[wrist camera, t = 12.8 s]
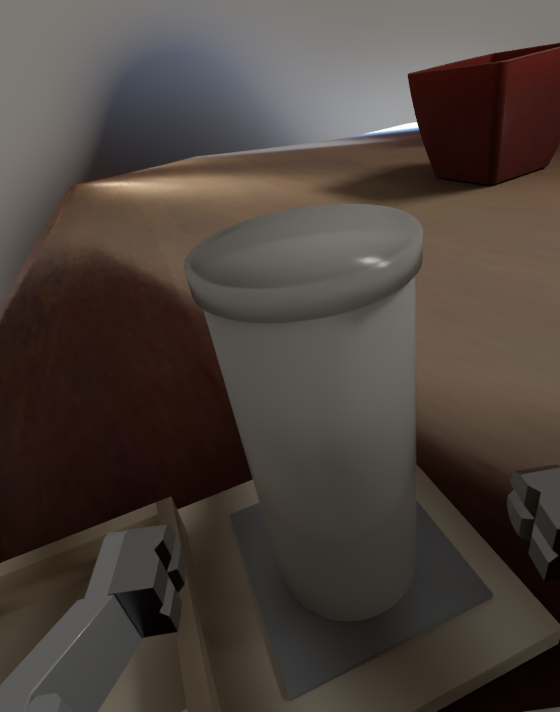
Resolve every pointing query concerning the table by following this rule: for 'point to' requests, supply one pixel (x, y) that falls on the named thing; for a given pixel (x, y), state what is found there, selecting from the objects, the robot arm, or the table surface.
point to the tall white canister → (323, 391)
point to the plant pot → (490, 114)
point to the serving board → (291, 618)
